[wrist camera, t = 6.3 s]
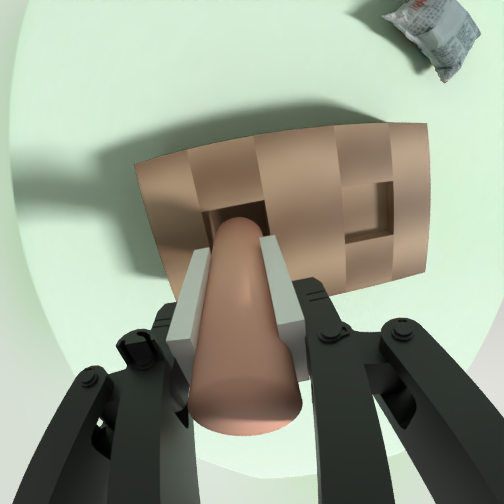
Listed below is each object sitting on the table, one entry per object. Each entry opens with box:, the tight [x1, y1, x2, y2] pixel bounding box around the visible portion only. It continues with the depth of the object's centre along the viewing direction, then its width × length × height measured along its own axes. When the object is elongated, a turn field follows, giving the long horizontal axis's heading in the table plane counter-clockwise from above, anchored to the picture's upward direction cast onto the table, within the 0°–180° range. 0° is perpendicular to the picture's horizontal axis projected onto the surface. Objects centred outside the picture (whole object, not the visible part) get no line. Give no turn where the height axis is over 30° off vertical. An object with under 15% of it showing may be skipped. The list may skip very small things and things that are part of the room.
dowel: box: [188, 217, 302, 436], centre depth 12 cm, size 3×3×12 cm
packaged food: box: [381, 0, 481, 83], centre depth 14 cm, size 9×12×5 cm
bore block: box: [134, 122, 431, 302], centre depth 20 cm, size 12×20×6 cm, turn 100°
